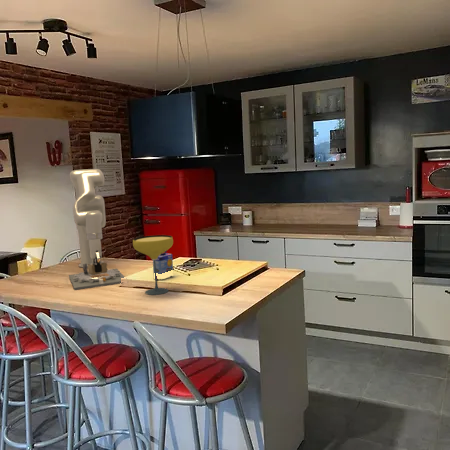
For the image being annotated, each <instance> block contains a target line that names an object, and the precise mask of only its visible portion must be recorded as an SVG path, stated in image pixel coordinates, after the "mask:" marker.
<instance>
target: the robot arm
mask: <svg viewBox="0 0 450 450" xmlns="http://www.w3.org/2000/svg"><path fill="white" fill-rule="evenodd" d="M69 178H70V182H71V184H72V186H73V187H74V191H75V201H74V203H73V206H72V215H73V219H74V223H75V225H76V230H77V235H78V245H79V256H80V263H79V264H78V267H79V268H83V264H87V268H88V264H91V263H95V272H96V273H98V272H102V265H101V262H102V261H101V259H102V258H103V256H102V255H103V254H102V252H103V251H102V243H101V240H102V239H103V230H102V228H105V226H106V223H107V221H106V219H107V217H106V208H105V206H106V205H105V204H106V203H105V199H104V197H103V196H102V195H100V194H96V189H95V188H96V187H102V186H104V185H105V176H104V173H103V171H102V170H101V169H100V168H88V169H74V170H72V171H70V173H69Z"/></svg>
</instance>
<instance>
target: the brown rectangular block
mask: <svg viewBox="0 0 450 450" xmlns="http://www.w3.org/2000/svg"><path fill="white" fill-rule="evenodd" d="M107 264H108V263H107V262H105V261H103V260H102V261H101V265H102V272H98V273H96V272H95V263H91V264H88V267H87V270H88V272H89V274H91V275H96V274H101V273H106V272H107V270H108V265H107Z"/></svg>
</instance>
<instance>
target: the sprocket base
mask: <svg viewBox="0 0 450 450" xmlns="http://www.w3.org/2000/svg"><path fill="white" fill-rule="evenodd" d="M113 269H114V271H116V270H119V269H118V268H113ZM74 275H79V273H74V274H68V278H69V281H70V284H72V288H73V290H74V291H79V290H86V289H87V290H88V289H92V288H93V289H94V288H101V287H107V286H113V285H114V286H115V285H121V284H122V283H121V278H124V277H126V276H125V275H124V274H123V273H122V272H121V271H120V276H116V278H115V279H107V280H106V281H103V279H99V281H94V282H93V283H89V282H82V283H80V282H79V281H74V280H73V278H74ZM120 283H121V284H120Z"/></svg>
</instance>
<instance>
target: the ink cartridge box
mask: <svg viewBox="0 0 450 450" xmlns="http://www.w3.org/2000/svg"><path fill="white" fill-rule="evenodd" d="M173 259H174V258H173V254H172V253H168V252H167V251H165V252H163V253H162V254H160V255H159V256H158V258H157V259H156V260H155V264H156V273H158V274H162V273H165V272H168V271H171V270H173V271H174V265H173ZM152 267H153V268H152V269H153V270H152V272H153V274H154V273H155V269H154V260H152Z"/></svg>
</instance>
